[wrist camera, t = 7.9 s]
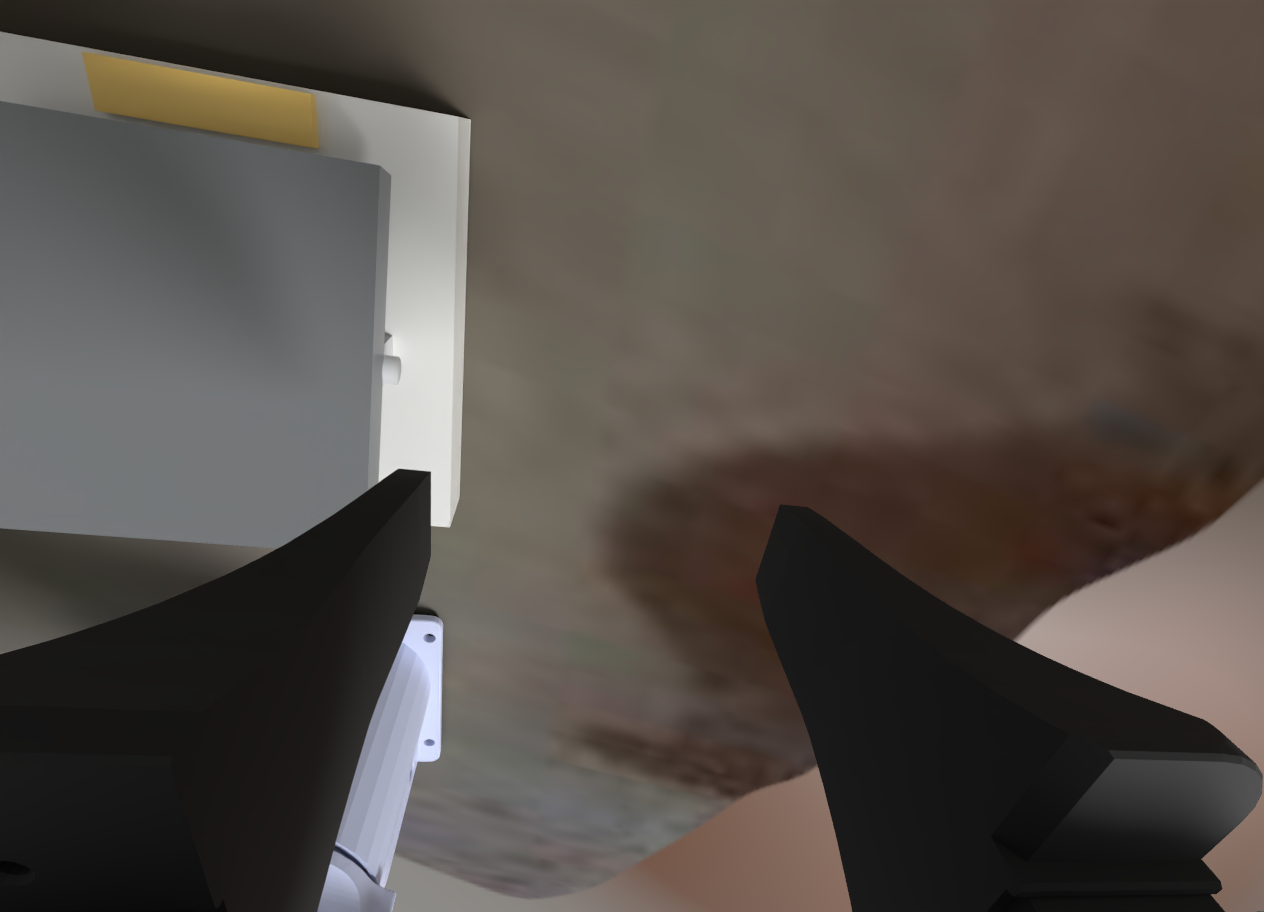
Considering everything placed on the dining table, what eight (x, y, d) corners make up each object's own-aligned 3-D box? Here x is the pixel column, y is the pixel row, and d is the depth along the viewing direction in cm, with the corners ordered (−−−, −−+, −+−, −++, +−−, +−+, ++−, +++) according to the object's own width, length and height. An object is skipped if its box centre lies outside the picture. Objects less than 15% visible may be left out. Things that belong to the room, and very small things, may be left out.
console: (459, 497, 23) (443, 547, 20) (-290, 431, 19) (-440, 480, 16) (471, 119, 17) (449, 114, 14) (-614, -82, 13) (-938, -144, 10)
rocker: (393, 533, 18) (376, 555, 16) (34, 505, 16) (-25, 526, 15) (410, 183, 16) (392, 167, 14) (-1, 115, 14) (-75, 88, 12)
